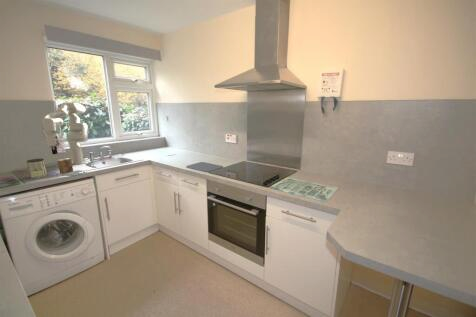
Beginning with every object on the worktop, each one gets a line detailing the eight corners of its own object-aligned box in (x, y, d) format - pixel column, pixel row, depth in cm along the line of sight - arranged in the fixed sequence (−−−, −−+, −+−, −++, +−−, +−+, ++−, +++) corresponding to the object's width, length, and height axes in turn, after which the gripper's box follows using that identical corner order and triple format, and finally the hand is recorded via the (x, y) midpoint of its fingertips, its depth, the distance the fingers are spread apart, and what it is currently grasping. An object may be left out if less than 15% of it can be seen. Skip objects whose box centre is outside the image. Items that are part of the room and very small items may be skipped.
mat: (77, 170, 196) (77, 170, 196) (89, 171, 193) (89, 171, 192) (61, 174, 183) (61, 174, 183) (74, 175, 179) (74, 175, 179)
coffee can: (27, 177, 178) (24, 160, 175) (43, 174, 187) (39, 158, 184) (34, 178, 174) (30, 161, 171) (49, 175, 183) (46, 159, 180)
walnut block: (69, 171, 195) (66, 158, 193) (73, 171, 194) (70, 158, 191) (59, 173, 188) (57, 160, 185) (64, 173, 186) (61, 160, 184)
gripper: (62, 132, 187) (65, 153, 191) (49, 132, 191) (53, 153, 195) (52, 133, 180) (56, 154, 183) (39, 133, 184) (44, 154, 187)
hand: (55, 153), depth 189 cm, fingers closed
